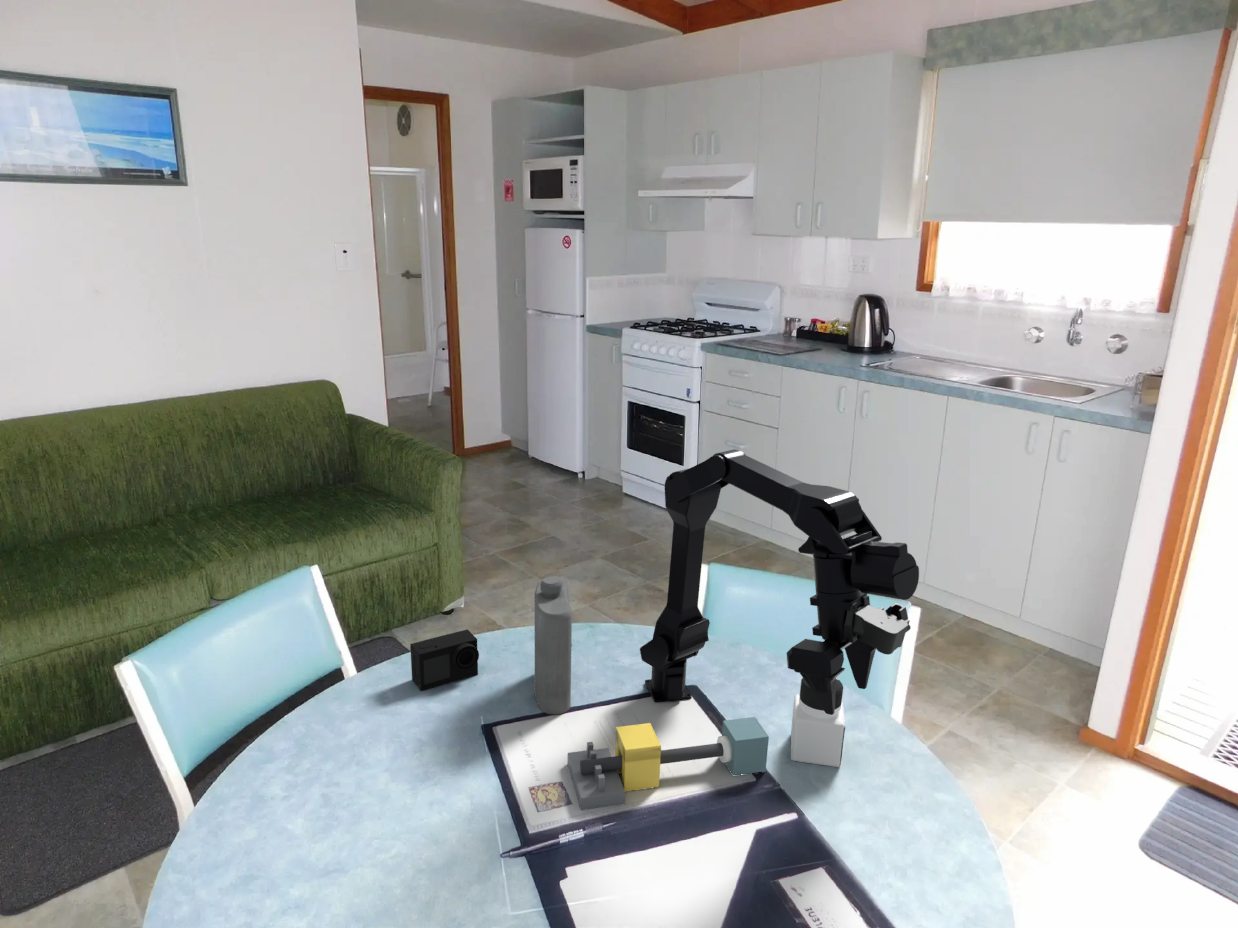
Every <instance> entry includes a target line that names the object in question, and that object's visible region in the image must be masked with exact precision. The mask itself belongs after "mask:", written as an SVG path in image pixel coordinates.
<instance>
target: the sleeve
mask: <svg viewBox="0 0 1238 928" xmlns="http://www.w3.org/2000/svg"><path fill="white" fill-rule="evenodd" d="M661 750H662V744H661V743H660V740H659V738H658V736H657V734H656V732H655V730H654V728H653V726H652V724H651V722H647V723H641V724H640V723H639V724H631V725H621V726H616V727H615V752H614V753H615V754H614V756H621V755H622V769H620V770H617V772H618V775H621V783H622V786H623V788H624V791H625V793H627V792H628V791H629V792H631V791H630V790H636V791H640V790H639V789H643V790H645V789H644V788H651V789H653V788H652V787H658V788H660V778H661V777H660V774H661V764H660V757H661ZM620 773H622V774H620ZM626 791H627V792H626Z"/></svg>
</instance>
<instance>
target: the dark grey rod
mask: <svg viewBox="0 0 1238 928" xmlns="http://www.w3.org/2000/svg"><path fill="white" fill-rule="evenodd" d="M721 728H722V729H721V730H722V731H721V732H722V733H721V736H717V740H716V743H709V744H702V745H694V746H686V747H684V746H683V747H678V748H670V749H663V750H662V749H661V757H660V765H665V764H670V763H671V764H673V763H680V762H688V761H696V760H703V759H711V758H712V759H713V758H719V760H720V762H722V763H723V764H725V763H726V764H727V765H726V764H725V765H726V767H727V766H728V767H727V769H728V768H729V769H728V770H730V771H731V772H730V771H729V772H730V774H731V773H732V774H733V775H740V776H742V775H741V774H748V775H753V774H752V773H755V772H757V773H755V774H759V773H758V772H762V773H766V772H767V760H768V749H769V740H770V739H769V738H770V737H769V734H768V733H767V732H766V730H765V729H764V728H763V726H762V725H761V723H760V722H759V720H758V719H757V718H756V716H750V717H744V718H742V717H741V718H734V719H726V720H722V727H721ZM596 765H601V768H602V772H605V771H612V770H620V769H622V755H621V756H615V755H614V756H612V757H605V758H597V759H590V760H582V761H580V770H581V774H589V773H595V766H596ZM732 774H731V775H732Z"/></svg>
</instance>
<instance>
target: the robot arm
mask: <svg viewBox="0 0 1238 928" xmlns="http://www.w3.org/2000/svg"><path fill="white" fill-rule="evenodd" d="M728 485H732V486H733V487H735V488H736V489H737V488H738V489H739V490H740V491H743V492H745V493H747V494H749V495H752V496H753V497H755V498H757V499H759V500H761V501H762V502H765V503H767V504H769V505H770V506H772V507H775V508H776V509H778V510H780V511H782V512H783V513H785V515H787V516H788V517H789V519H790V520H791V523H792V524H793V525H794V526H795V528H797V529H798V530H800V531H801V532H802V533H804V534H805V535H807V539H806V541H805V542H804V543H803V544H801V545H800V547H798V549H797V550H798V553H800V554H806V555H812V561H813V573H814V585H815V595H812V596H811V597H809V603H810V606H814V607H816V609H817V610H816V611H817V612H816V613H817V622H818V623H817V624H816V625H814V626H813V627H812V636H815V637H817V636H818V637H821V639H822V640H823V641H822V640H815V639H810V638H809V639H808V638H805V639H803V640H801V641H799V642H798V643H797V644H795V645H793V646H792V647H791V648H789V649H788V651H787V652H786V653H785V654H786V663H787V668H788V669H789V670H793V671H794V672H795V673H799V674H800V675H801V677H802V678H804V680H805V681H806V682H807V684H808V685H809V687H810V688H811V690H812V692H813V693H814V695H815V697H816V698H817V700H818V702H819V703H820V705H821V707H822V708H823V710H824V712H825V713H826V714H830V715H833V714H834V710H835V693H836V678H837V679H838V677H839V676H840V675H841V674H842V673H843V672H844V671H845V669H846V668H845V667H843V664H844V661H845V657H844V651H843V650H845V654H846V657H847V660H848V664H849V666H850V669H851V673H852V675H853V676H852V677H853V679H854V681H855V684H856V686H857V688H858V689H859V690H860V689H862V690H865V689H867V687H868V683H869V678H870V674H871V670H872V665H873V663H874V662H873V661H874V657H875V654H876V653H875V652H876V650H877V652H878V653H881V654H883V655H887V656H888V655H891V654H893V653H894V652H895V651H896V650H897V649H898V648H901V647H902V645H903V643H904V639H905V636H906V633H908V632H909V631H910V630H911V625H910V622H911V621H910V620H909V616H908V611H907V610H908V609H907V607H906V606H905V605H903V604H901V603H899V602H895V603H893V604H891V605H889V607H888V608H886V609H885V608H884V607H883V606H880V607H879V608H878V607H874V606H872V605H871V600H870V595H872V596H878V597H885V598H890V599H895V600H896V599H897V600H903V601H905V600H910V599H911V597H913V595H914V594H915V592H916V591H917V588H918V585H919V580H920V568H919V567H920V566H918V565H917V561H916V560H915V557H914V556H913V554H911V553H910V552H909V551H908V544H907V543H905V542H893V543H892V542H883V541H882V539H883V538H882V537H883V536H882V535H881V534H880V533H879V532H878V530H877V528H876V527H875V525H873V523H872V522H871V520H870V518H869V517H868V516H867V514H866V513H865V512H864V510H863V509H862V505H861V504H860V499H859V498H858V497H857V495H855V494H854V493H853V492H850V491H848V490H845V489H842V488H838V487H833V486H830V485H829V486H828V485H822V484H821V485H820V484H811V483H807V482H803V481H801V480H800V479H799V480H798V479H796V478H795V477H793V476H790V475H788V474H787V473H784V472H782V471H780V470H778V469H775V468H773V467H772V466H769V465H767V464H765V463H763V462H760V460H759V461H758V460H756V459H754V458H753V457H751V456H749V455H746V453H745V452H744V451H742V450H739V449H735V448H734V449H731V450H725V451H721V452H716V453H714V454H713V455H712V456H710V457H709V458H707V459H706V460H704V461H702V462H700V463H698V464H696V465H694V466H692V467H690V468H686V469H681V470H677V471H674V472H672V473H670V474H669V475H668V476H667V477H666V478H665V481H664V501H665V502H664V503H665V510H666V511H667V513H668V514H669V517H670V519H671V520H672V523H673V527H672V536H671V537H672V539H671V550H670V562H669V563H670V565H669V574H668V587H667V599H666V604H665V606H664V608H663V609H662V611H661V613H660V614H659V616H658V617H657V619H656V621H655V626H654V631H653V635H652V639H650V640H649V641H648V642H646V643H645V644H644V645H641V647H640V648H639V652H640V657H641V661H642V662H644V663H645V664H647V665H649V666H651V677H650V679H645V680H644V685H645V686H646V689H647V690H648V692H649V695H650V697H651V698H652V700H653V702H654V703H664V702H674V701H685V700H690V699H692V698H693V697H692V696H693V694H692V693H691V691H690V689H689V688H688V686H687V685H686V680H687V679H686V677H687V662H688V661H687V660H688V659H690V658H693V657H696V656H698V653H699V651H700V650H702V649H703V648H704V647H705V645H706V643H707V642H709V641H710V640H709V627H710V625H711V624H710V620H709V618H707V617H704V616H703V614H702V612H701V611H700V608H699V597H700V595H699V594H700V586H701V585H700V584H701V575H702V565H703V564H702V563H703V556H704V555H703V553H704V545H705V544H704V543H705V534H706V533H705V532H706V525H707V523H708V521H709V520H710V518H712V515H713V514H714V512H715V511H716V509H717V506H718V503H719V498H720V494H721V490H722V489H723V488H725V487H727V486H728ZM852 532H854V533H855V534H853V535H849V536H846V537H844V538H843V536H845V535H848V534H851V533H852ZM881 541H882V542H881ZM884 609H885V610H884ZM682 699H683V700H682Z"/></svg>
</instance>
